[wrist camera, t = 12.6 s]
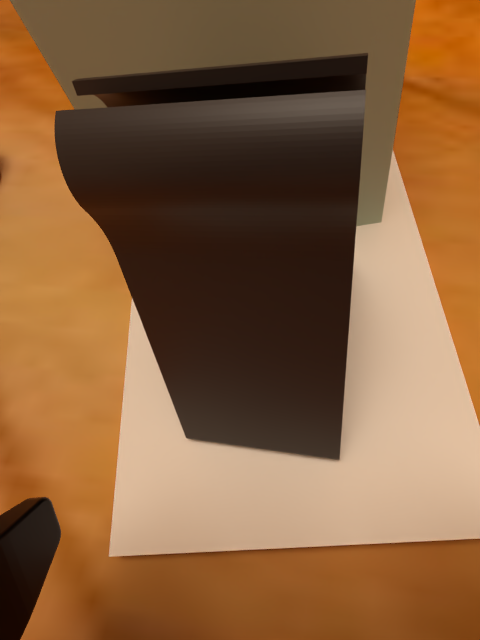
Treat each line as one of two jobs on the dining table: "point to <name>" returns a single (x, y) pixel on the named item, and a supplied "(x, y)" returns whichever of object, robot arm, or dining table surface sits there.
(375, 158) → the bookshelf
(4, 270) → the dining table surface
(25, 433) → the dining table surface
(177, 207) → the phone stand
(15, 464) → the dining table surface
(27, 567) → the robot arm
